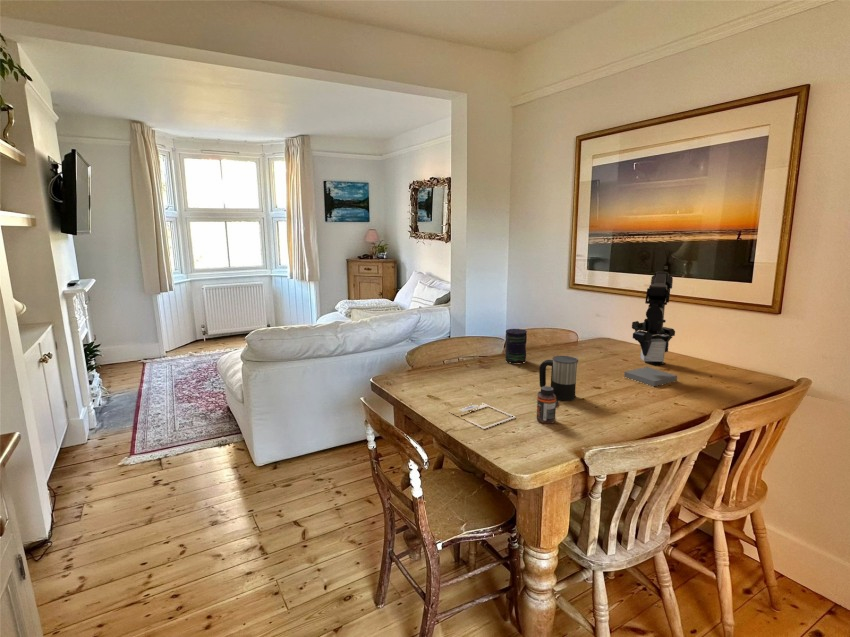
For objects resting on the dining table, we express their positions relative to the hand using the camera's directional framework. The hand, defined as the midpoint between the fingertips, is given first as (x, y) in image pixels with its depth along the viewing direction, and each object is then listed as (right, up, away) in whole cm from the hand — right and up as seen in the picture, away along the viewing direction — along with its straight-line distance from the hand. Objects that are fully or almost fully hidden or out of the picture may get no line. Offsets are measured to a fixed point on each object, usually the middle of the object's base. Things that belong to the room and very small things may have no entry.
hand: (652, 354), depth 186 cm
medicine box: (0, -3, 0) cm, 3 cm away
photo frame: (-74, -19, -32) cm, 83 cm away
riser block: (0, -11, +2) cm, 11 cm away
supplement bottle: (-54, -19, -37) cm, 68 cm away
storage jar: (-50, -6, +30) cm, 59 cm away
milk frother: (-45, -16, -18) cm, 51 cm away
